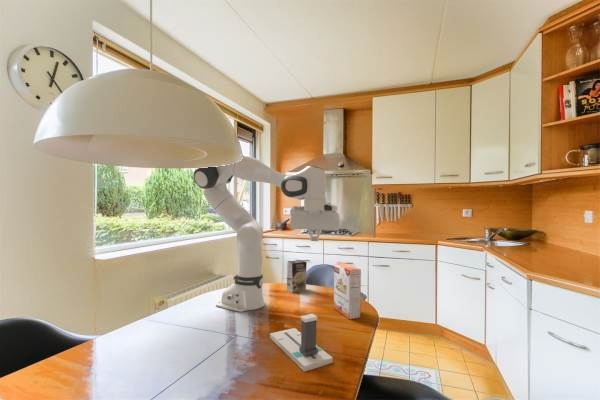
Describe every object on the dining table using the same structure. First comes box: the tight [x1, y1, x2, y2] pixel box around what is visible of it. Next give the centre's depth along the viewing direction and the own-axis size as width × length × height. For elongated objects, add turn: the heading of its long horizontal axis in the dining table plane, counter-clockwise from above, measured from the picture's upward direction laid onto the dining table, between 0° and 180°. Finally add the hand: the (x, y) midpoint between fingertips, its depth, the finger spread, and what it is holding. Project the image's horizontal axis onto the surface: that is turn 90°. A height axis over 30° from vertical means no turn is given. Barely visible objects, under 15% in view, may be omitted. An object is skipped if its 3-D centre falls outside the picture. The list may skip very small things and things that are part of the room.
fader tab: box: [299, 313, 318, 357], centre depth 90 cm, size 4×4×11 cm
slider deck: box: [269, 327, 334, 372], centre depth 95 cm, size 24×10×2 cm, turn 30°
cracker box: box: [333, 262, 362, 320], centre depth 128 cm, size 14×6×21 cm, turn 21°
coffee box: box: [286, 259, 307, 293], centre depth 161 cm, size 9×6×16 cm
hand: (314, 241), depth 116 cm, fingers closed
